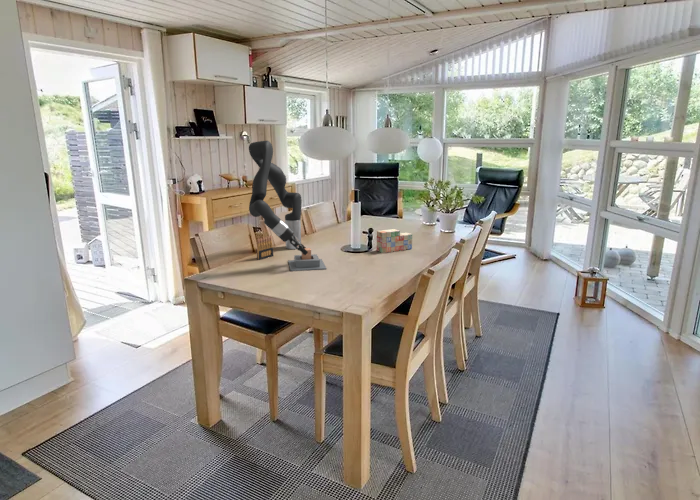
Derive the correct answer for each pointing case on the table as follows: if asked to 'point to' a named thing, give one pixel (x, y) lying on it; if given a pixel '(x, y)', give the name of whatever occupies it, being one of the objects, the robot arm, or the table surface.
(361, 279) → the table surface
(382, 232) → the stack of blocks
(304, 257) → the block
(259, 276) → the table surface
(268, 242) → the ammunition clip
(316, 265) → the socket
